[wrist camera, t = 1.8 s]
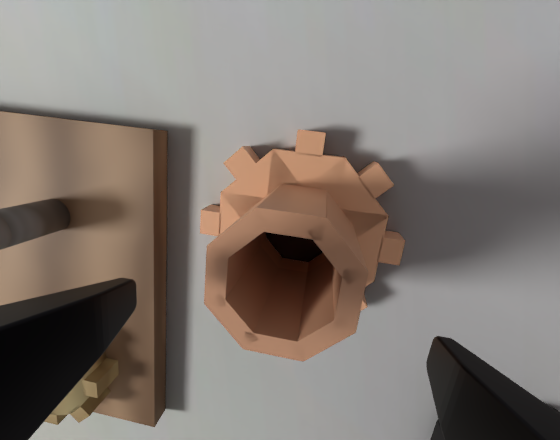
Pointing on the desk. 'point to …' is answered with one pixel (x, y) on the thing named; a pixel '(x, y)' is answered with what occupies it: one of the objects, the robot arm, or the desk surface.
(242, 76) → the desk surface
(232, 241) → the gear
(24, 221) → the carrier
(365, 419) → the desk surface
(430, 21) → the desk surface
